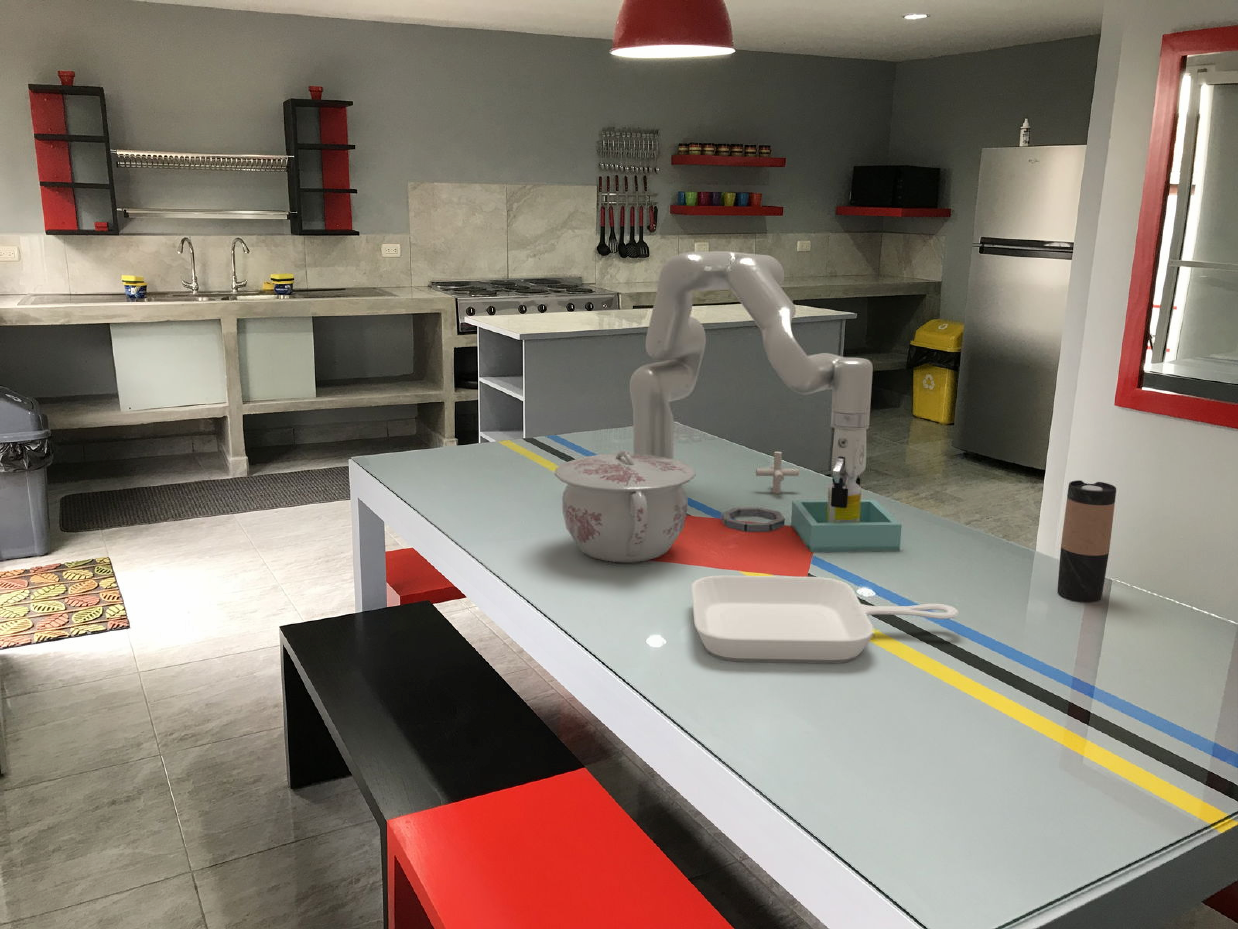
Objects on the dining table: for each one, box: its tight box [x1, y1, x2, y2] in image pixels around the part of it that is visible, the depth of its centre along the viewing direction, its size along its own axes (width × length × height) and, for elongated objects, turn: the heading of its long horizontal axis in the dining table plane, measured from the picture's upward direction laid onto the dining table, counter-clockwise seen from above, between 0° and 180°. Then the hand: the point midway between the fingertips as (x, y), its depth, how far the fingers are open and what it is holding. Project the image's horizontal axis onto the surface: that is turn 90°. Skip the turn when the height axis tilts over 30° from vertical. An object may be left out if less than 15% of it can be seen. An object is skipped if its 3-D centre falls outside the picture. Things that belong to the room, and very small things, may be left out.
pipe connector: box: [755, 451, 800, 495], centre depth 240 cm, size 10×10×10 cm
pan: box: [690, 575, 960, 664], centre depth 160 cm, size 27×42×5 cm, turn 88°
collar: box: [720, 506, 786, 533], centre depth 217 cm, size 13×13×2 cm
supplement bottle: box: [827, 473, 862, 523], centre depth 206 cm, size 7×7×13 cm
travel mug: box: [1057, 479, 1117, 604], centre depth 173 cm, size 8×8×20 cm
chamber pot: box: [553, 449, 696, 564], centre depth 195 cm, size 28×28×21 cm
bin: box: [790, 499, 903, 553], centre depth 207 cm, size 18×18×6 cm
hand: (845, 501), depth 205 cm, fingers open, 9 cm apart
